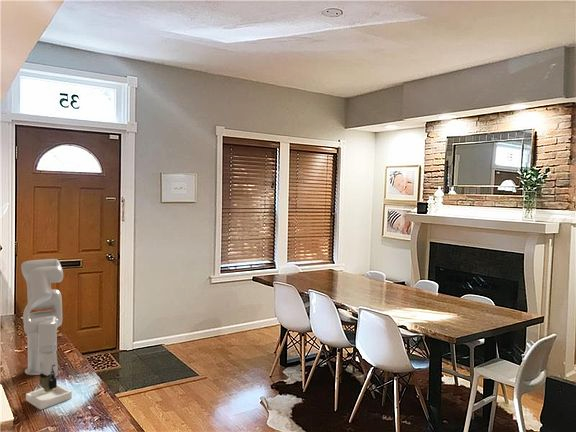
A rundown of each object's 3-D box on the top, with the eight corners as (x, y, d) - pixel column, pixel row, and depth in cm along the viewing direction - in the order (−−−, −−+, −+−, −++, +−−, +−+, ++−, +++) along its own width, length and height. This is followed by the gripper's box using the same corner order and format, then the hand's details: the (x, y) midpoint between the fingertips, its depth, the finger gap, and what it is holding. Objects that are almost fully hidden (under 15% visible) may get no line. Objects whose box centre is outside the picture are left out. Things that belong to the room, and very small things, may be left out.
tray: (26, 400, 211) (25, 393, 210) (56, 389, 222) (56, 383, 221) (40, 409, 202) (40, 402, 202) (71, 398, 213) (71, 391, 213)
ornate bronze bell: (40, 388, 214) (40, 371, 213) (58, 386, 216) (58, 369, 216) (38, 395, 207) (37, 378, 206) (56, 392, 209) (56, 375, 209)
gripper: (30, 346, 213) (31, 383, 214) (48, 354, 202) (49, 394, 203) (47, 341, 219) (47, 378, 220) (65, 350, 208) (66, 388, 209)
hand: (48, 385), depth 211 cm, fingers closed on ornate bronze bell, 7 cm apart
